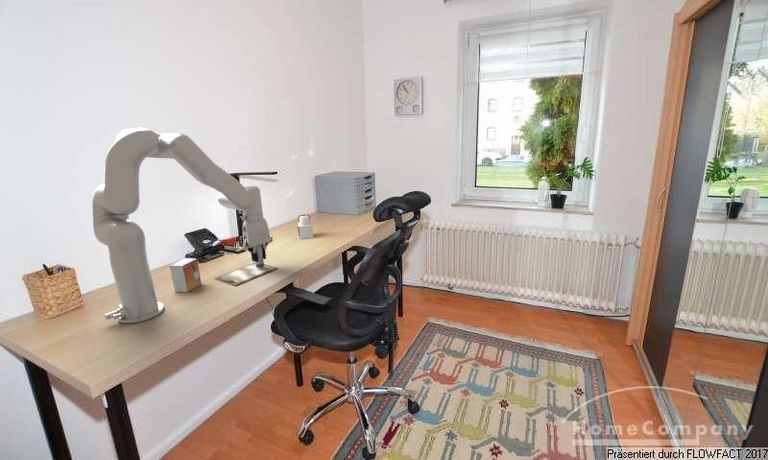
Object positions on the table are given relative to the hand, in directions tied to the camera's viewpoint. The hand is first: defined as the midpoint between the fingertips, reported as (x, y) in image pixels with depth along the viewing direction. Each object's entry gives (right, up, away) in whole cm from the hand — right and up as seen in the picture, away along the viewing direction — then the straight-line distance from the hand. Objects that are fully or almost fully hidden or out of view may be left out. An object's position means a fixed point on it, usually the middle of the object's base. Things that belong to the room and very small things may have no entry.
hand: (259, 259), depth 152 cm
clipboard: (-4, -6, -3) cm, 7 cm away
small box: (-22, -10, -14) cm, 28 cm away
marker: (0, -3, +1) cm, 3 cm away
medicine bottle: (+10, +8, +45) cm, 47 cm away
